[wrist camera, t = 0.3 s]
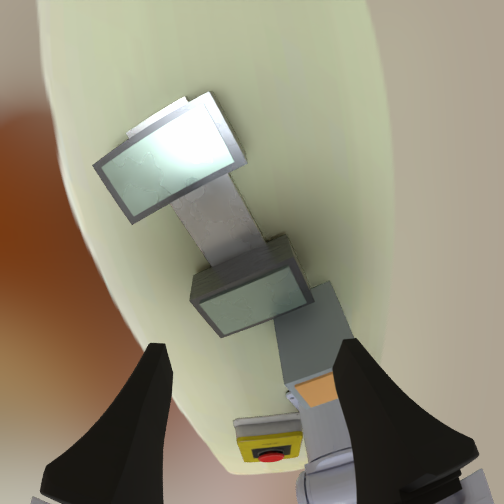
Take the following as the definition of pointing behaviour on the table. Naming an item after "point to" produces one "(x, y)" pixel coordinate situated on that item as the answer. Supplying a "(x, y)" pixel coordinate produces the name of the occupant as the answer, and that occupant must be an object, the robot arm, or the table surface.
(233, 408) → the table surface
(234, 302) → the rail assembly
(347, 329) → the block
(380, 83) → the table surface
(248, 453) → the emergency button
